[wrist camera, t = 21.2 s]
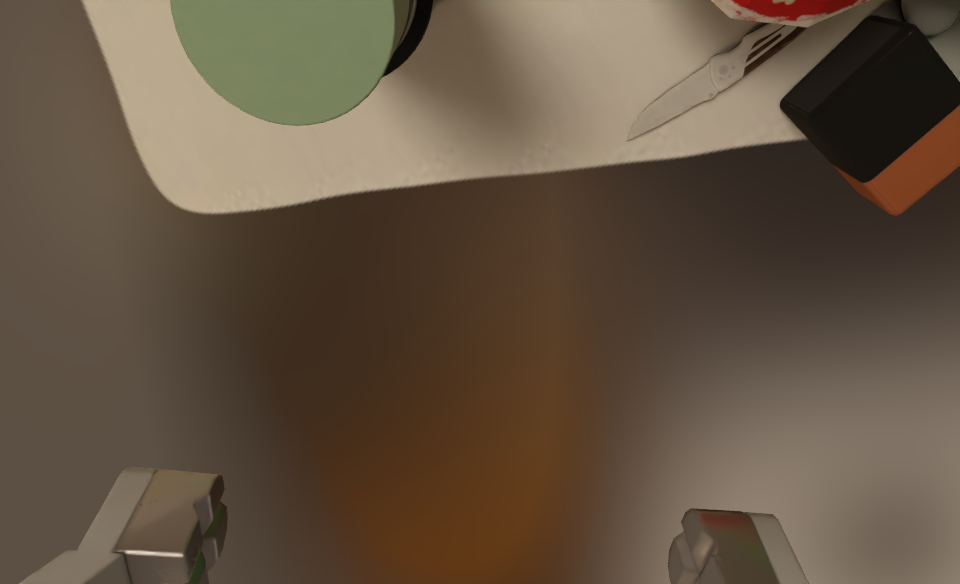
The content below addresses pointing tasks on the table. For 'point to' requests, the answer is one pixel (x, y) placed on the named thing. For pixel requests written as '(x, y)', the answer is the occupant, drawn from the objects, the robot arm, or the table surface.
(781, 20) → the decorative mushroom
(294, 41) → the green cylinder
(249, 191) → the table surface
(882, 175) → the battery
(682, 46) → the table surface
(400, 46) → the flask
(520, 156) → the table surface
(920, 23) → the spoon
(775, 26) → the pocket knife
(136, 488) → the robot arm
